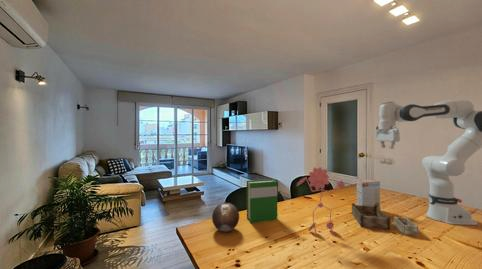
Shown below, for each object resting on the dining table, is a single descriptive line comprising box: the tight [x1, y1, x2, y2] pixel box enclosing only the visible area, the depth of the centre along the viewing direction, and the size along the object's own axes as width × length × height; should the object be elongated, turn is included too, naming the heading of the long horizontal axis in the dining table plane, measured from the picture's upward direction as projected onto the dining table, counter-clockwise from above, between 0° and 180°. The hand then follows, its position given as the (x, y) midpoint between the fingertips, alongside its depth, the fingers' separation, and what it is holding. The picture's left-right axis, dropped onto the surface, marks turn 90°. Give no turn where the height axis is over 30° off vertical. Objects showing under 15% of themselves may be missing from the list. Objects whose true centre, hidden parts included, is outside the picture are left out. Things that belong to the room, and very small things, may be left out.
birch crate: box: [393, 216, 419, 237], centre depth 115 cm, size 6×12×5 cm, turn 165°
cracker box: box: [356, 179, 381, 210], centre depth 144 cm, size 14×6×21 cm, turn 100°
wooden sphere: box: [211, 202, 240, 232], centre depth 116 cm, size 15×15×15 cm
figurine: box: [295, 166, 346, 236], centre depth 117 cm, size 15×26×35 cm, turn 96°
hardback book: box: [246, 178, 278, 224], centre depth 131 cm, size 18×7×24 cm, turn 105°
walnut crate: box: [351, 202, 391, 231], centre depth 127 cm, size 15×21×7 cm
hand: (387, 148), depth 136 cm, fingers open, 8 cm apart
